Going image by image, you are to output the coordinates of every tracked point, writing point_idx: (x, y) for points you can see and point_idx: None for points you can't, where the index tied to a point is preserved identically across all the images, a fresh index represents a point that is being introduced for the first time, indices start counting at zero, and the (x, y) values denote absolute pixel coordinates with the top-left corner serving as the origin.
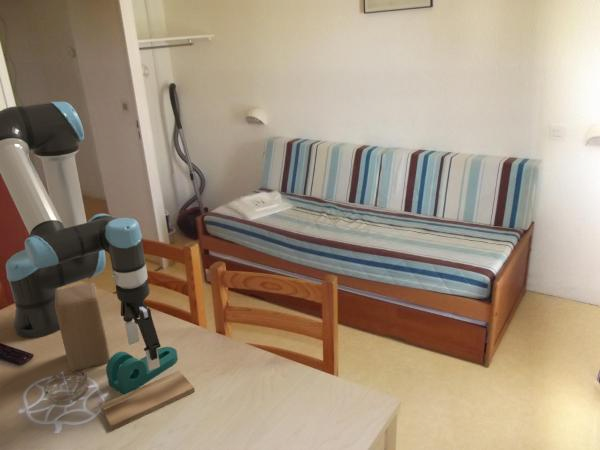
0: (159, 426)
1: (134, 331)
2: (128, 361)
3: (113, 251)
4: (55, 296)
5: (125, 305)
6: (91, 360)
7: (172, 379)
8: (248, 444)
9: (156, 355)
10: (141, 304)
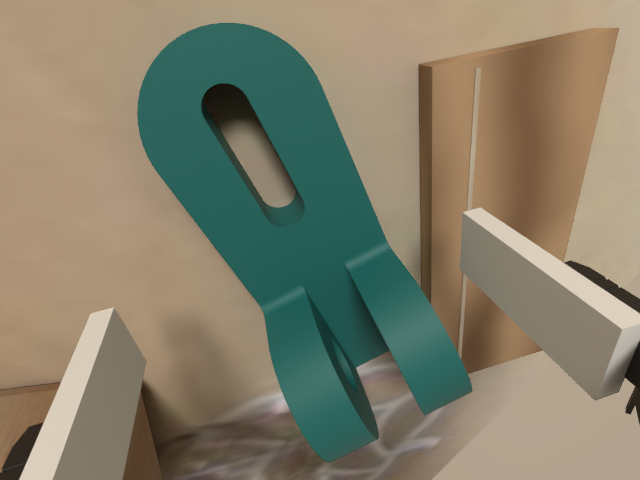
0: (629, 217)
1: (101, 413)
2: (440, 396)
3: None
4: None
5: None
6: (147, 452)
7: (477, 125)
8: None
9: (601, 281)
10: None
